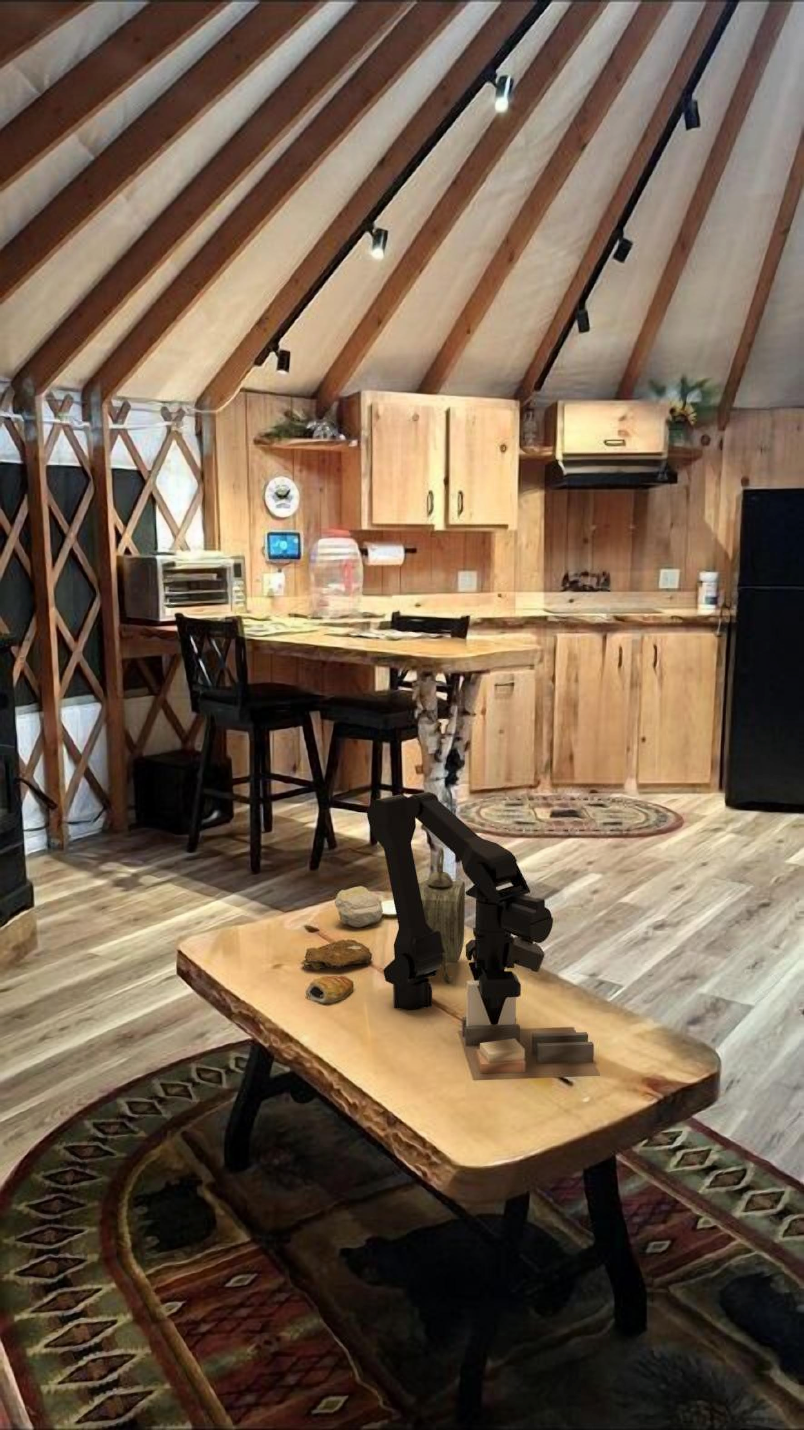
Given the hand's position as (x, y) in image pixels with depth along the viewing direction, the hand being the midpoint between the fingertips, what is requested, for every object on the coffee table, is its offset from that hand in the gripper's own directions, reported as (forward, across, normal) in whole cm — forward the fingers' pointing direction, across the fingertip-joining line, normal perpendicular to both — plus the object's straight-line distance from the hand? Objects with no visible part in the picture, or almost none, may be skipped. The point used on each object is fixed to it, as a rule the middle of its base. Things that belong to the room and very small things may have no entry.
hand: (490, 1016), depth 170 cm
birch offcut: (+2, -9, 0) cm, 9 cm away
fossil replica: (+6, +62, +19) cm, 65 cm away
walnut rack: (+6, -5, -5) cm, 9 cm away
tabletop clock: (+6, +33, +5) cm, 34 cm away
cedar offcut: (+4, -9, 0) cm, 10 cm away
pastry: (+6, +23, +26) cm, 36 cm away
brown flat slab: (+6, +39, +25) cm, 46 cm away
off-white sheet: (+4, 0, 0) cm, 4 cm away
